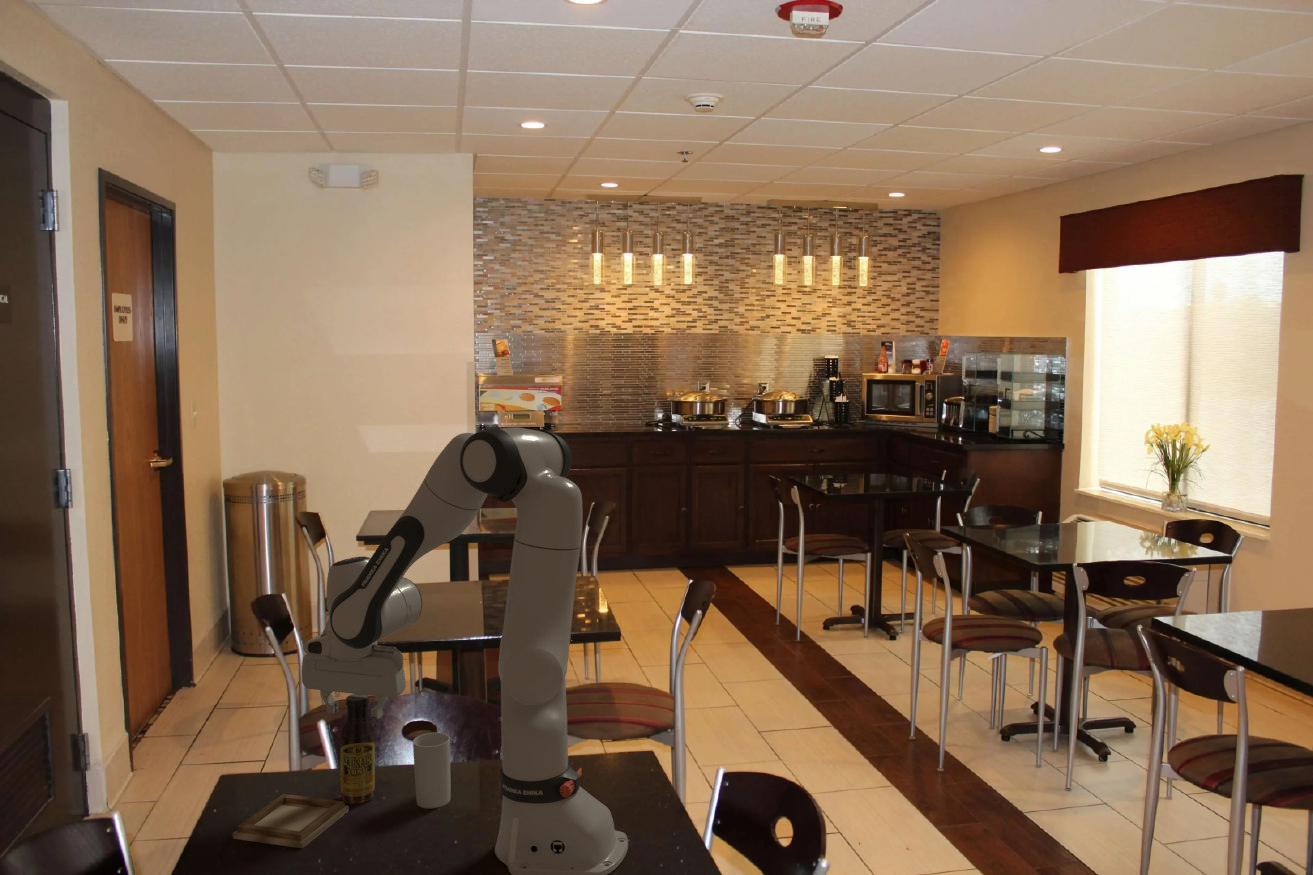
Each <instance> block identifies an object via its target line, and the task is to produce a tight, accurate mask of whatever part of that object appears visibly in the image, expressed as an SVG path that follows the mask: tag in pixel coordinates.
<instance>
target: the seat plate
mask: <svg viewBox="0 0 1313 875" xmlns="http://www.w3.org/2000/svg"><path fill="white" fill-rule="evenodd" d="M349 806H350V805H346V804H345V802H344V801H342V800H334V799H327V798H320V797H319V798H318V797H311V796H302V795H296V794H295V795H294V794H288V793H287V794H286V793H283V794H281V795H280V796H279V797H277V798H275V799H274V800H272V801H271V802H270V803H268V804H267V805H265V806H264V807H262V809H260V810H259V811H257V812H255V813H254V814H252V815H251V816H250V817H249V818H248V817H247V819H245V820H244V821H243V822H241V823H240V824H238V825H237V826H236V830H235V831H233V832H232V839H235V840H241V841H248V842H254V843H255V842H256V843H262V844H267V845H268V844H269V845H276V846H283V847H289V848H296V849H297V848H298V849H304V848H305V847H306V846H308V845H309V844H310V843H311V842H313V841H314V840H315V839H316V838H318V836H320V835H321V834H322V833H324V832H325V831H326V830H328V828H330V827H331V826H332V825H334V824H335V823H336V822H338V820H340V819H341V818H342V817H344V816H345V815H346V814H347V813H349V812H350V811H349V810H350V807H349ZM345 813H346V814H345ZM344 814H345V815H344Z"/></svg>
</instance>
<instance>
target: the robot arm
mask: <svg viewBox="0 0 1313 875" xmlns="http://www.w3.org/2000/svg"><path fill="white" fill-rule="evenodd" d="M571 466H572V454H571V448H570V447H569V445H568V444H567V442H566V441H565V440H564V439H563V438H562V437H561V436H559V435H558V434H557V433H554V432H551V431H549V430H548V431H547V430H545V429H538V430H535V429H530V428H524V427H516V426H515V427H502V428H497V427H489V428H487V429H486V428H485V429H483V430H479V431H477V432H476V433H471V432H462V433H459V434H457V435H456V436H454V437H453V438H451V440H450V441H449V442H448V443H447V444H446V445H445V447H444V448H443V449H442V450H441V452H440V453H439V455H438V456H437V458H436V459H435V460H434V461H433V463H432V465H431V466H430V467H429V470H428V471H427V473H426V475H425V477H424V479H423V480H422V481H421V484H420V485H419V487H418V489H417V491H416V492H415V494H414V495H413V497H412V499H411V500H410V502H409V504H408V505H407V506H406V508H405V509H404V511H403V512H402V513H401V515H400V516H399V518H398V519H397V521H396V522H395V523H394V524H393V525H392V527H391V528H390V530H388V532H387V534H385V536H384V537H383V539H382V541H381V542H380V544H379V545H378V546H377V548H376V550H375V551H374V553H373V554H372V556H371V557H367V556H355V557H350V558H345V559H342V560H339V561H335V562H334V563H333V564H332V565H331V566H330V568H329V569H328V573H327V579H326V590H325V591H326V592H325V593H326V595H325V596H326V609H327V612H328V616H329V619H328V622H327V631H326V632H324V633H323V634H319V635H317V636H315V637H313V638H311V639H309V640H307V641H306V642H304V643H303V645H302V646H303V647H302V648H303V652H304V653H305V655H304V656H303V657H302V661H301V662H302V663H301V683H302V685H303V686H304V688H305V689H307V690H317V691H319V692H320V697H321V698H322V701H323V702H324V704H325V708H326V714H336V713H337V712H339V709H340V708H339V701H335V699H334V696H333V694H332V693H333V692H335V693H345V694H351V695H352V694H361V695H368V696H372V697H375V702H377V704H376V705H375V706H374V707H372V708H371V709H370V718H372V719H377V720H378V719H381V718H382V717H383V715H384V710H383V709H384V706H385V704H386V703H387V701H388V700H389V698H391V699H395V698H397V697H398V696H400V695H401V694H402V693H403V692H404V691H405V690H406V687H407V686H406V684H407V683H406V675H405V669H404V654H403V653H402V652H401V651H400V650H399V649H397V647H395V646H385V645H379V644H378V640H380V639H384V638H386V637H387V636H389V635H392V634H395V633H396V632H398V631H400V630H403V629H405V628H407V627H408V626H410V625H412V624H413V623H415V622H416V621H417V620H418V619H419V617H420V616H421V613H422V608H423V599H422V595H421V592H420V590H419V588H418V587H417V585H416V584H415V583H414V582H413V581H412V580H410V579H409V578H407V577H404V576H405V575H406V573H407V571H408V570H409V569H410V568H411V567H412V565H413V564H415V563H416V562H417V561H418V560H419V559H421V558H422V557H424V556H425V555H426V554H428V553H430V552H432V551H434V550H435V549H437V548H439V547H441V546H443V545H444V544H447V543H449V542H451V541H453V540H455V539H456V538H458V537H459V536H460V535H461V534H462V533H463V532H464V531H466V529H467V528H468V527H469V526H470V525H471V523H472V522H473V521H474V520H475V519H476V516H477V515H478V513H479V512H480V509H481V508H482V506H483V504H484V502H485V500H486V499H487V498H488V496H491V497H492V498H494V499H495V500H496V501H498V502H500V503H502V504H503V503H507V502H509V501H511V502H513V504H514V506H515V508H516V515H517V516H516V524H515V531H514V537H513V544H512V545H513V547H512V555H511V561H510V568H509V569H510V570H509V575H508V576H509V577H508V587H507V594H506V602H505V609H504V610H505V611H504V619H503V620H504V621H503V626H502V633H501V636H500V637H501V638H500V643H499V653H498V654H499V657H498V665H497V666H498V668H497V669H498V670H497V671H498V676H499V680H500V700H501V701H500V712H501V713H500V714H501V716H500V724H501V725H500V726H501V727H500V729H501V730H500V731H501V758H502V759H501V762H502V763H501V764H502V765H501V767H500V769H499V770H500V771H499V791H500V794H499V795H500V799H501V800H502V802H501V805H502V806H501V815H500V824H499V831H498V835H497V840H496V844H495V847H494V853H495V856H496V857H497V859H498V860H499V861H500V862H502V863H503V864H505V866H507V869H508V872H509V873H510V874H511V875H608V874H610V873H612V872H613V871H614V870H616V869H617V867H619V866H620V864H621V863H622V862H623V860H624V858H625V857H626V854H628V853H627V852H628V849H629V841H628V836H627V834H626V833H625V832H624V831H623V832H622V831H620V830H616V828H615V823H614V820H613V816H612V812H611V810H610V808H608V806H606V805H605V804H604V803H602V801H601V802H600V801H599V799H597V798H595V797H594V796H593V795H591V794H590V793H589V792H588V791H587V790H585V789H584V788H583V787H581V786H580V777H581V776H582V774H583V772H582V767H579V769H578V770H577V771H576V770H574V768H573V767H572V765H571V764H570V762H569V752H568V751H569V745H568V743H569V742H568V741H569V740H568V714H567V713H568V712H567V711H568V710H567V693H566V692H567V690H566V689H567V688H566V676H567V672H568V671H567V670H568V661H569V655H570V654H569V653H570V646H571V645H570V644H571V634H572V625H573V612H574V602H575V592H576V591H575V590H576V584H577V576H578V575H577V574H578V569H579V560H580V554H581V547H582V546H581V545H582V539H583V522H584V521H583V517H584V516H583V515H584V514H583V512H584V511H583V497H582V495H583V494H582V492H581V489H580V487H579V486H578V485H577V484H576V483H575V482H573V481H572V480H571V479H569V478H567V477H568V476H569V474H570V471H571Z"/></svg>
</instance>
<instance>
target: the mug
mask: <svg viewBox="0 0 1313 875" xmlns="http://www.w3.org/2000/svg"><path fill="white" fill-rule="evenodd" d="M412 743H413V744H412V745H413V746H412V748H413V749H412V750H413V751H412V752H413V765H414V783H415V798H416V800H415V801H416V804H417V806H418V807H420V808H423V809H428V810H429V809H438V808H442V807H444V806H446V805H447V804H449V803H450V801H451V786H452V785H451V782H452V781H451V736H450V735H449V734H446V733H442V732H428V733H424V734H420V735H418V736H416V737H415V738H413V740H412Z"/></svg>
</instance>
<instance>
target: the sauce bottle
mask: <svg viewBox="0 0 1313 875" xmlns="http://www.w3.org/2000/svg"><path fill="white" fill-rule="evenodd" d="M369 696H370V695H361V694H352V693H351V694H350V695H348V696H347V697H346V699H345V700H346V701H345V704H346V707H347V708H346V709H347V714H346V715H347V716H346V722H345V723H344V724H343V727H342V729H341V731H340V745H339V746H340V747H339V748H340V754H339V755H340V768H339V769H340V772H339V773H340V791H339V792H340V799H341V801H344V803H346V804H348V805H359V804H363V803H366V802H367V803H368V802H370V801H371V800H372V798H373V797H374V795H375V788H376V786H375V785H376V784H375V783H376V779H375V777H376V776H375V772H376V771H375V770H376V769H375V768H376V759H375V758H376V756H375V755H376V753H375V751H376V748H375V747H376V746H375V744H376V743H375V728H374V726H373V724H372V722H370V720H369V712H368V710H369V707H368V706H369V701H370V699H369V698H370V697H369Z"/></svg>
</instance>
